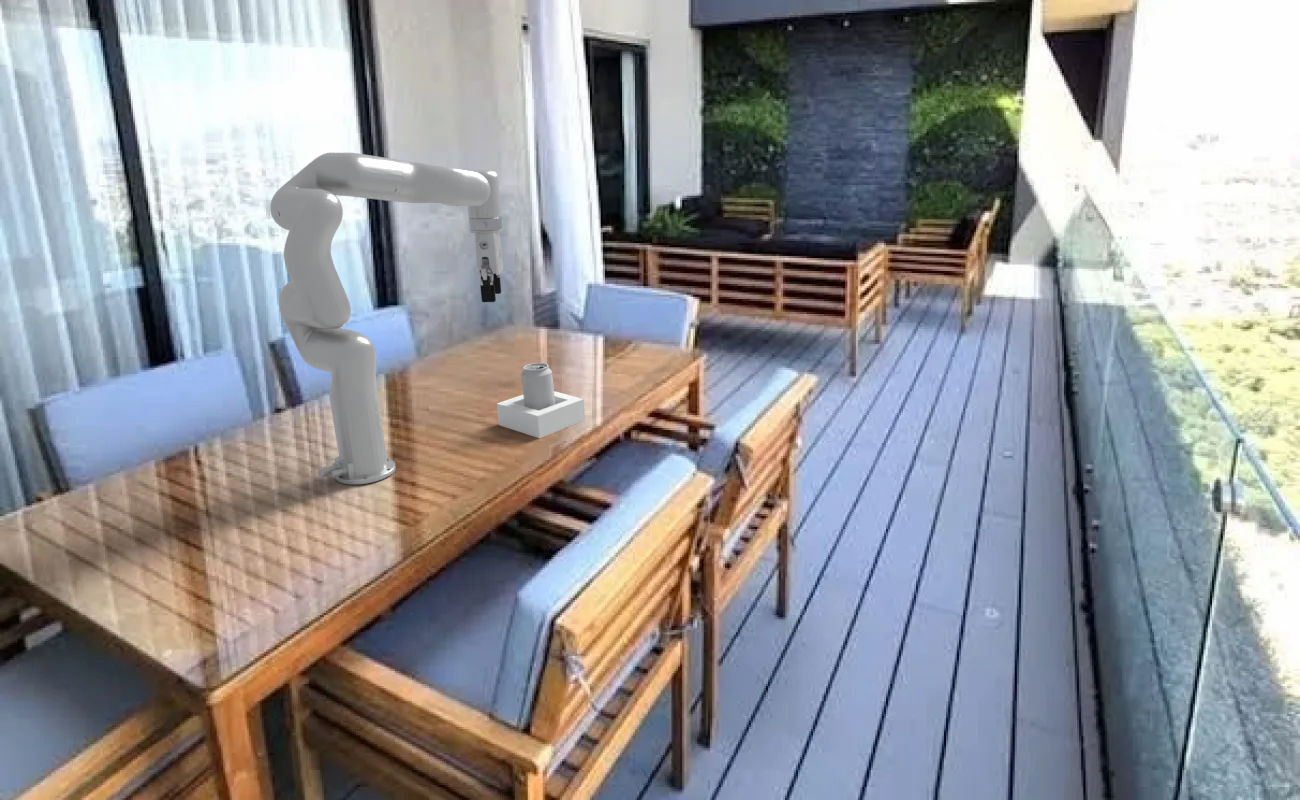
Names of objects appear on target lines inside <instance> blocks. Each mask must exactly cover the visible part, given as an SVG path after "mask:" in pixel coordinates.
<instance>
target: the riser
mask: <svg viewBox="0 0 1300 800" xmlns="http://www.w3.org/2000/svg"><path fill="white" fill-rule="evenodd" d="M554 396H555V405H553V406H550V407H547V408H545V409H542V410H539V411H538V410H535V409H532V408H528V407H525V405H524V396H523V394H520V395H518V396H515V397H512V398H509V399H506V400H502V401H500V402H498V403H496V410H497V411H496V413H497V421H498V426H501V427H504V428H506V429H511V430H513V431H516V432H519V433H522V434H525V435H528V436H531V437H534V438H538V439H542V438H544V437H546V436H548V435H551V434H554V433H557V432H559V431H562V430H564V429H567V428H569V427H571V426H574V425H577V424H579V423H582V422H584V421H585V420H586V419H585V417H586V416H585V402H584V401H585V400H584V398H580V397H578V396H577V397H576V396H575V395H574V396H573V395H570V394H566V393H563V392H558V391H555V390H554ZM566 427H567V428H566Z"/></svg>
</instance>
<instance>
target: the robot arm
mask: <svg viewBox="0 0 1300 800" xmlns="http://www.w3.org/2000/svg"><path fill="white" fill-rule="evenodd" d="M500 194H501V193H500V181H499V175H498V173H497V172H496V171H495V170H492V169H477V170H475V169H474V170H466V169H459V168H452V167H445V166H438V165H432V164H427V163H426V164H425V163H421V162H416V161H409V160H402V159H396V158H395V159H394V158H389V157H382V156H376V155H369V154H366V153H365V154H364V153H358V152H357V153H355V152H326V153H322V154H321V155H319V156H317V157H316V158H315V159H313V160H311V162H309V163H308V164H306V165H305V167H303V168H302V169H301V170H300V171H298V172H297V173H296V174H295V175H294V176H292V177H291V178H290V179H289V180H288V181H286V182H285V183H284V184H283V185H281V187H280V188H279V189H277V191H276V192H275V193H274V195H273V197H272V198H271V201H270V204H269V205H270V207H269V209H270V210H269V211H270V214H271V217H272V219H273V221H274V222H275V223H276V224H277V226H279V227H281V228H282V229H284V230H286V231H288V233H287V236H286V238H285V239H286V240H285V243H284V248H283V259H284V264H285V267H286V270H287V274H288V277H289V279H290V281H288V282H287V283H286V284H285V285H284V286H283V287H282V289H281V291H280V294H279V299H278V301H279V302H278V305H279V311H280V315H281V317H282V319H283V321H284V324H285V325H286V328H287V331H288V332H289V335H290V337H291V339H292V341H293V343H294V345H295V347H296V349H297V351H298V353H299V354H300V357H301V358H302V359H303V360H304V362H305V363H306V364H307V365H308V366H310V367H311V368H314V369H316V370H319V371H323V372H326V373H329V374H331V375H330V376H331V380H330V386H329V392H328V395H329V402H330V405H329V406H330V410H331V417H332V421H333V428H334V429H333V430H334V434H335V440H336V445H337V451H338V452H337V453H338V456H336V457H334V462H332V463H331V465H328V466H325V467H321V468H319V469H318V470H317V473H318V475H319V477H320V478H326V477H329V476H331V478H334V480H335V481H336V482H338V483H341V484H343V485H344V484H345V485H356V486H357V485H365V484H371V483H376V482H379V481H381V480H384V479H386V478H388V477H389V476H392V475H393V474H394V473H395V471H396V462H395V461H394V460H392V459H391V458H388V457H387V450H386V444H385V437H384V430H383V429H384V428H383V423H382V417H381V416H382V415H381V408H380V402H379V397H378V388H377V362H378V360H377V359H378V358H377V350H376V347H375V345H374V344H373V342H372V340H370V338H369V337H367V336H366V335H365V334H363V333H361V332H358V331H356V330H351V329H348V328H342V327H344V326H345V325H346V324H347V323H348V322H349V320H350V319H351V314H352V307H351V304H350V300H349V298H348V295H347V293H346V290H345V287H344V285H343V283H342V281H341V279H340V278H341V277H339V273H338V272H337V269H336V267H335V263H334V260H333V258H332V253H331V252H332V251H331V250H332V243H333V239H334V236H335V234H336V233H337V231H338V229H339V227H340V225H341V223H342V220H343V215H344V212H343V205H342V202H341V201H340V199H339V196H341V197H352V198H353V197H354V198H360V199H361V198H362V199H370V200H371V199H372V200H380V201H387V202H388V201H389V202H396V203H406V204H407V203H410V204H441V205H443V206H449V207H466V208H467V214H468V215H467V216H468V224H469V232H470V233H471V234H474V245H475V256H476V257H475V259H476V267H477V268H476V269H477V273H478V275H479V276H480V296H481V302H482V303H495V302H496V300H497V299H496V295H497V294H498V295H499V294H502V286H501V285H502V283H501V277H500V274H501V273H502V272H503V270H504V260H503V253H502V251H503V250H502V242H501V236H500V232H503V231H504V230H503V219H502V207H501V205H502V203H501V195H500Z"/></svg>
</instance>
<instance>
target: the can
mask: <svg viewBox="0 0 1300 800" xmlns="http://www.w3.org/2000/svg"><path fill="white" fill-rule="evenodd" d="M520 377H521V378H520V379H521V386H522V395H523V396H524V405H525V407H528V408H532V409H535V410H538V411H539V410H542V409H545V408H547V407H550V406H553V405H555V396H554V391H555V388H554V379H553V371H552V369H550V368H549V364H548V363H545V362H533V363H529V364H526V365H524V366H523V367H522V372H521V373H520Z"/></svg>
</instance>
